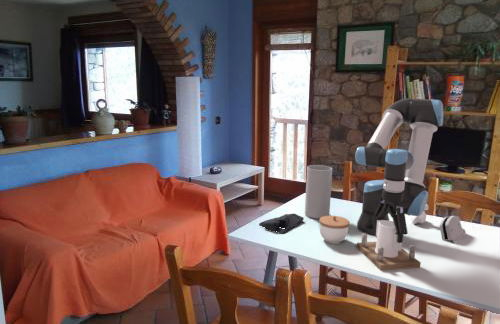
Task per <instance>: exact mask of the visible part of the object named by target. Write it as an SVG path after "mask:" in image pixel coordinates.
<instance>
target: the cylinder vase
mask: <svg viewBox="0 0 500 324" xmlns="http://www.w3.org/2000/svg"><path fill="white" fill-rule="evenodd" d="M332 179H333V167H331V166H328V165H323V164H313V165H307V167H306V180H305V182H306V183H305V184H306V185H305V202H304V215H306V217H308V218H311V219H316V220H317V219H320V218H321V217H323V216H330V213H331V212H330V211H331V210H330V209H331V198H332V197H331V195H332Z"/></svg>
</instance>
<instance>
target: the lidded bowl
mask: <svg viewBox="0 0 500 324" xmlns="http://www.w3.org/2000/svg"><path fill="white" fill-rule="evenodd" d="M318 222H319V226H318V227H319V233H320V236H321V237H322V238H323V240H324V242H327V243H328V244H332V245H333V244H335V245H337V244H341V243H342V242H343V241H344V240H345V239H346V238H347V236H348V233H349V228H350V220H349V219H348V218H345V217H342V216H339V215H329V216H323V217H321V218H320V219H319V221H318Z"/></svg>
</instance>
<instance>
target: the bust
mask: <svg viewBox="0 0 500 324" xmlns="http://www.w3.org/2000/svg"><path fill="white" fill-rule="evenodd" d="M428 210H429V205H428V204H427V203H426V206H425V209H424V211H423V212H422V214H421V215H419V216H412V215H410V221H411V223H412V224H413V225H416V224H424V223H425V222H426V219H427V213H426V212H425V211H428Z"/></svg>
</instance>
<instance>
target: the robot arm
mask: <svg viewBox="0 0 500 324" xmlns="http://www.w3.org/2000/svg"><path fill="white" fill-rule="evenodd" d="M443 123H444V104H443V102H442V101H441V100H440V99H427V98H403V99H400V100H398V101H395V102H393V103H391V104H390V105H389V106H388V107H387V108H386V109H385V110H384V111H383V113H382V116H381V120H380V122H379V124H378V126H377V128H376V129H375V131H374V133H373V135H372V136H371V138H370V139H369V141H368V142H367V144H366V146H358V147H357V148H356V151H355V157H354V159H355V163H356V164H357V165H362V166H368V167H375V168H381V169H382V168H383V169H384V173H383V174H384V175H383V179H375V180H374V179H373V180H369V181H366V182H364V187H363V188H364V189H363V191H362V192H363V193H362V194H363V195H362V196H363V198H362V208H361V213H360V216H359V218H358V220H357V222H356V229H357V230H358V231H359V232H362V233H363V234H367V235H368V234H369V235H373V236H376V237H377V234H378V225H379V221H383V220H388V221H390V218H392V221H394V225H395V229H396V233H395V240H394V250H401V248H402V247H403V238H404V235H408V234H409V233H408V227H407V221H406V215H407V216H419V215H421V214H422V212H423V211H425V210H424V209H425V206H426V204H427V202H428V198H429V192H428V190H426V186H425V184H424V178H425V173H426V168H427V165H428V164H427V163H428V158H429V154H430V149H431V143H432V139H433V134H434V133H435V132H437V131H438V128H439V127H442V126H443ZM402 124H409V127H410V129H411V130H412V131H411V137H410V141H409V144H408V150H406V149H402V148H388V149H387V147H388V145H389V144H390V141H391V140H392V137H393V136H394V134H395V132H396V131H397V129H398V128H399V127H401V125H402ZM389 215H390V217H389ZM402 249H403V248H402Z"/></svg>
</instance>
